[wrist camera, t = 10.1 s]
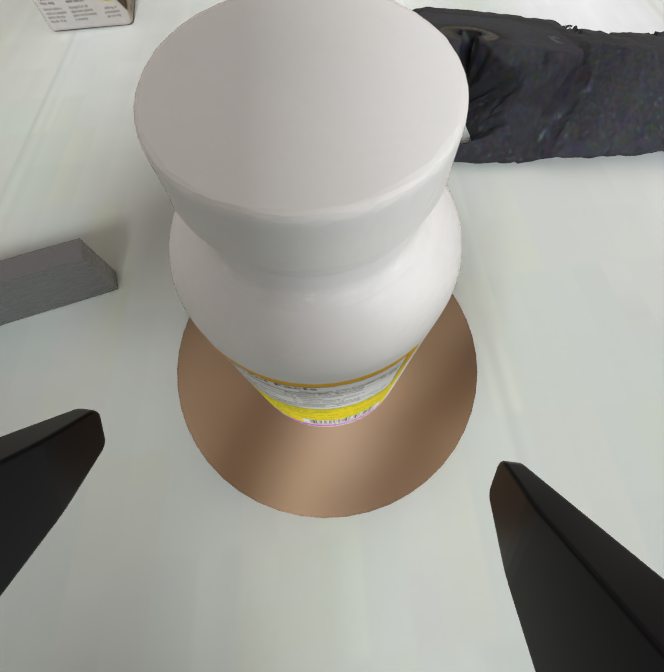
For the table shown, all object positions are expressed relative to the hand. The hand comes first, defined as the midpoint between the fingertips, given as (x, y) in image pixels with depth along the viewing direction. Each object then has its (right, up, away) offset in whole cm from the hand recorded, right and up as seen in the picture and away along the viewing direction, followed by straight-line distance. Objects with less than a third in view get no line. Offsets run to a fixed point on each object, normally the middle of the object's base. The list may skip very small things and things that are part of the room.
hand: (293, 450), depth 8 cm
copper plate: (+1, +1, +10) cm, 10 cm away
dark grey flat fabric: (+15, +19, +18) cm, 30 cm away
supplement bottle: (+1, +2, +9) cm, 9 cm away
